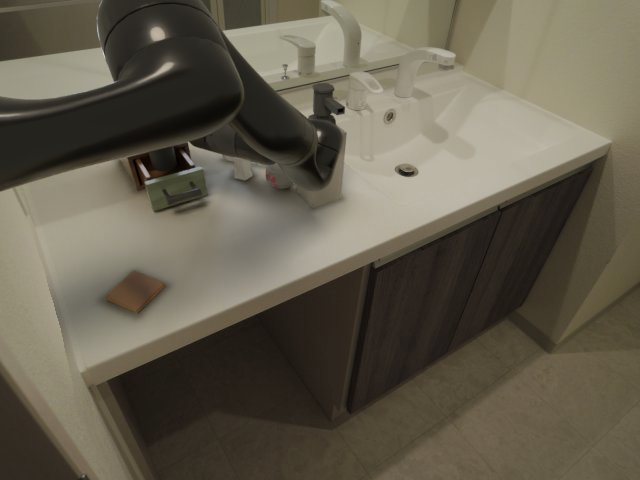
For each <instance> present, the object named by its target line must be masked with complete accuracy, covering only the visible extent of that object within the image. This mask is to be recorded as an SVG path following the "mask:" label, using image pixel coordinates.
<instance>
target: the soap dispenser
mask: <svg viewBox="0 0 640 480" xmlns="http://www.w3.org/2000/svg"><path fill="white" fill-rule="evenodd" d="M312 90H313V100H312V101H313V103H312V112H313V114H310V115H308V117H307V118H308V119H322V120H327V121H329V122H332V123H333V124H335V125H336V126H337V127H338V128H339V129H340V130H341V132H342V134H343V138H344V139H343V145H342V148H341V151H340V154H339V157H338V161H337V164H336V167H335V170H334V174H333V177H332V180H331V182H330V183H329V185H328V186H327V187H325V188H324V189H322V190H319V191H308V190H304V189H302V188H300V187H298V186H296V185H295V187H296V189H295V192H296V193H297V194H298V195H299V196H300V197H301V198H302V199H303V200H304V201H305V202H306V203H307V204H308V205H309V207H311V209H315V208H318V207H320V206H323V205H327V204H330V203H333V202H336V201H340V200H341V199H342V188H343V187H342V186H343V179H344V166H345V155H346V145H347V133H348V132H347V131H346V130H344V129H343V128H342V127H340V126H339V125H338V124H337V120H336V118H335V116H341V115H345V112H346V106H344V105H343V104H342V103H340V102H339V101H337V100H335V99H334V92H335V86H334V85H333V84H331V83H328V82H318V83H316V84H312ZM332 113H333V114H334V115H335V116H334V115H332Z"/></svg>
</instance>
